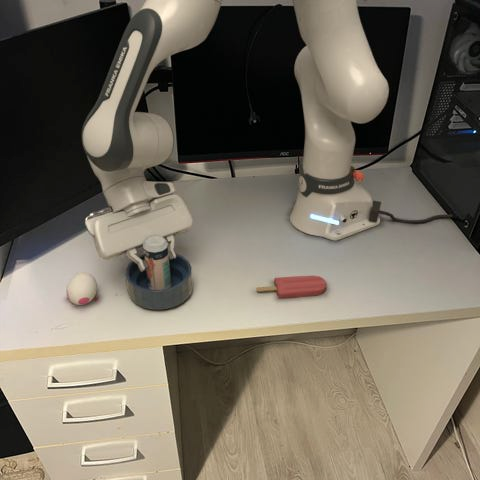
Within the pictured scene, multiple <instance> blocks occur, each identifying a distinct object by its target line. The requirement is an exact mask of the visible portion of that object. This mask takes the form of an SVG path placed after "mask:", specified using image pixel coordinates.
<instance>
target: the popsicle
mask: <svg viewBox="0 0 480 480" xmlns="http://www.w3.org/2000/svg"><path fill="white" fill-rule="evenodd" d="M273 284H274V285H272V286H260V287H259V286H258V287H257V288H256V292H259V293H260V292H273V291H274V292H275V291H276V294H277V298H278V299H290V298H300V297H303V298H304V297H313V296H320V295H322V294H324V293H325V291H327V286H328V284H327V281H326V280H325V278H323V277H321V276H319V275H298V276H284V277H283V276H281V277H275V278H274V280H273Z"/></svg>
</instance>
